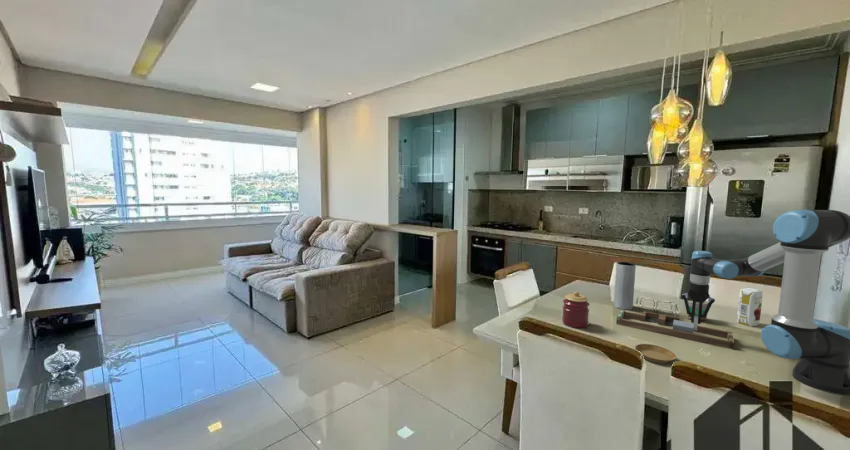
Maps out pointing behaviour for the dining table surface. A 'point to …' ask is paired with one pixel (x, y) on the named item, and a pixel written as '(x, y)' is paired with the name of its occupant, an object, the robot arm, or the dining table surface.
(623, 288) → the vase
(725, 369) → the dining table surface
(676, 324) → the grey block
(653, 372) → the dining table surface
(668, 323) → the track
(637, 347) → the plant saucer
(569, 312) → the canister
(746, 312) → the juice carton
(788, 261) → the robot arm
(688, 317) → the food container
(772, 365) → the dining table surface
